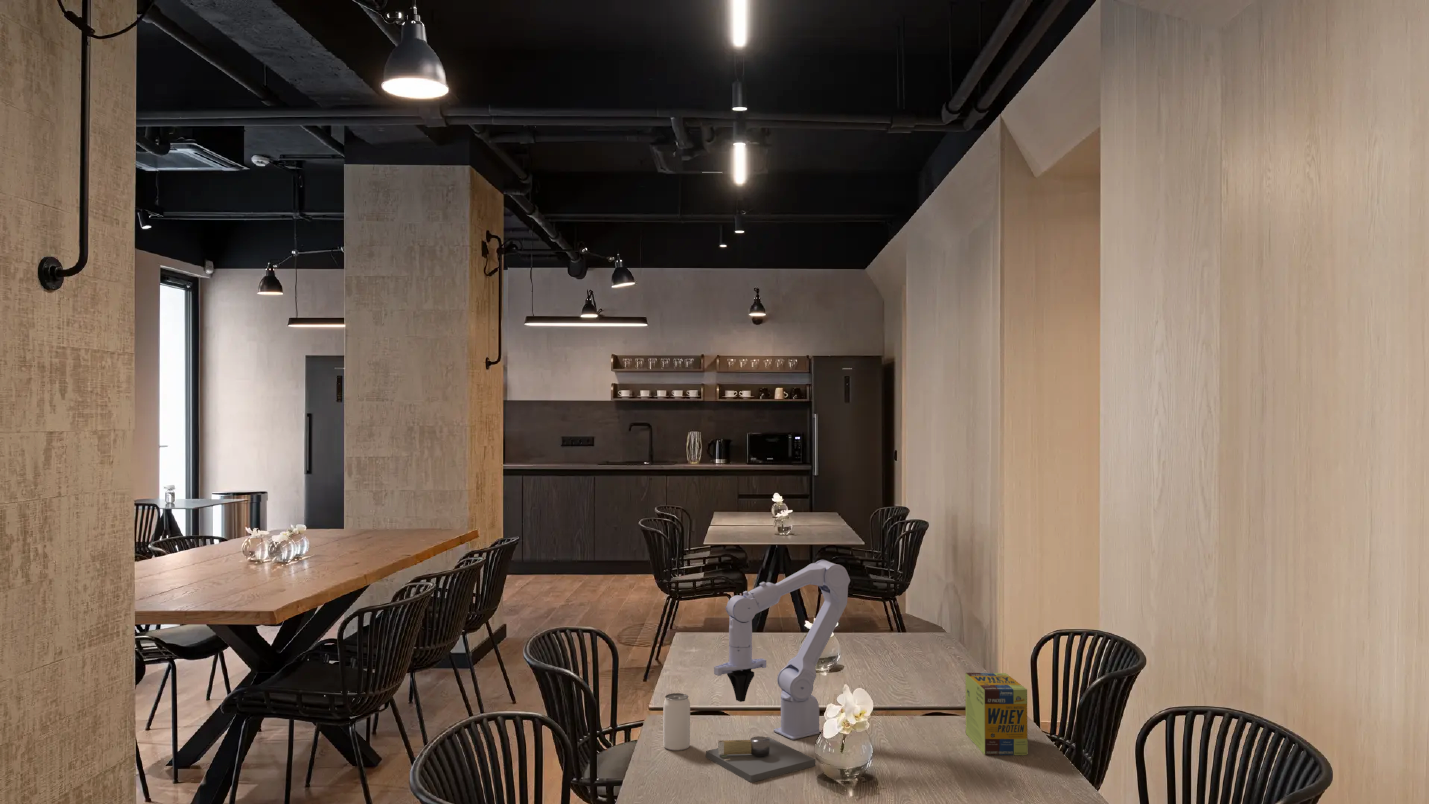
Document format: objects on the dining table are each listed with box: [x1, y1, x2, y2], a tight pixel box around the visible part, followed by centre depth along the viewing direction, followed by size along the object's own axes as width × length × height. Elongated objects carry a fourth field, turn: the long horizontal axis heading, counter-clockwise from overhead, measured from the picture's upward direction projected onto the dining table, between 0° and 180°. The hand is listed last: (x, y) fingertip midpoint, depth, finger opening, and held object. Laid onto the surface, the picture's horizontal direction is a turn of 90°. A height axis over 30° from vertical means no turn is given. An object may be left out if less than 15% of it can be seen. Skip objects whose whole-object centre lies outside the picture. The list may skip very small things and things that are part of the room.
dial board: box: [705, 736, 816, 783], centre depth 209 cm, size 18×18×2 cm
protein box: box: [965, 672, 1029, 756], centre depth 221 cm, size 10×15×16 cm
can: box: [662, 692, 691, 752], centre depth 219 cm, size 6×6×12 cm
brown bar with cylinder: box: [717, 735, 770, 756], centre depth 209 cm, size 4×12×3 cm, turn 94°
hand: (740, 700), depth 224 cm, fingers closed
